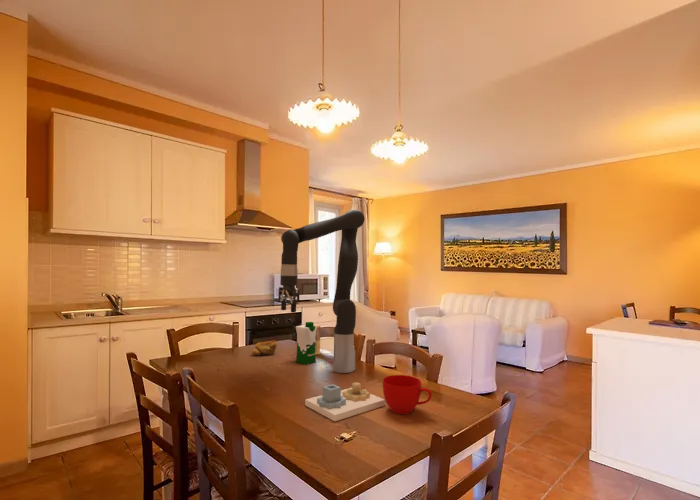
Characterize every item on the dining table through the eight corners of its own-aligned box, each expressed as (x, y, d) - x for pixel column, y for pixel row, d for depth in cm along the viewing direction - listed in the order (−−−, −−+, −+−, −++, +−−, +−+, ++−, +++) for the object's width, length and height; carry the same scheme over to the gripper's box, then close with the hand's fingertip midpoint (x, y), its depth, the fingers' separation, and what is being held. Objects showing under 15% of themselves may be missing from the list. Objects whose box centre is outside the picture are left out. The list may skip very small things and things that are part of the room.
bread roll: (254, 357, 195) (254, 342, 195) (249, 353, 203) (250, 339, 204) (278, 355, 201) (278, 340, 201) (272, 351, 209) (273, 337, 210)
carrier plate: (353, 392, 144) (354, 374, 144) (384, 405, 130) (385, 385, 131) (305, 405, 130) (305, 385, 130) (334, 421, 117) (334, 399, 117)
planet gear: (334, 396, 133) (334, 380, 134) (351, 404, 126) (352, 387, 126) (311, 402, 127) (311, 386, 127) (328, 411, 119) (328, 394, 120)
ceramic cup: (424, 424, 115) (424, 391, 116) (375, 412, 124) (375, 382, 125) (437, 410, 126) (438, 381, 127) (392, 400, 135) (392, 372, 136)
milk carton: (306, 365, 181) (307, 324, 181) (292, 362, 186) (293, 322, 187) (318, 361, 188) (318, 322, 189) (304, 359, 193) (305, 320, 194)
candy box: (318, 352, 208) (318, 324, 209) (320, 354, 204) (320, 326, 205) (302, 353, 205) (303, 325, 206) (304, 355, 201) (304, 326, 202)
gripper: (304, 275, 164) (304, 312, 163) (288, 274, 175) (287, 309, 174) (289, 275, 159) (289, 313, 158) (273, 274, 170) (273, 310, 169)
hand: (288, 311), depth 166 cm, fingers open, 8 cm apart
